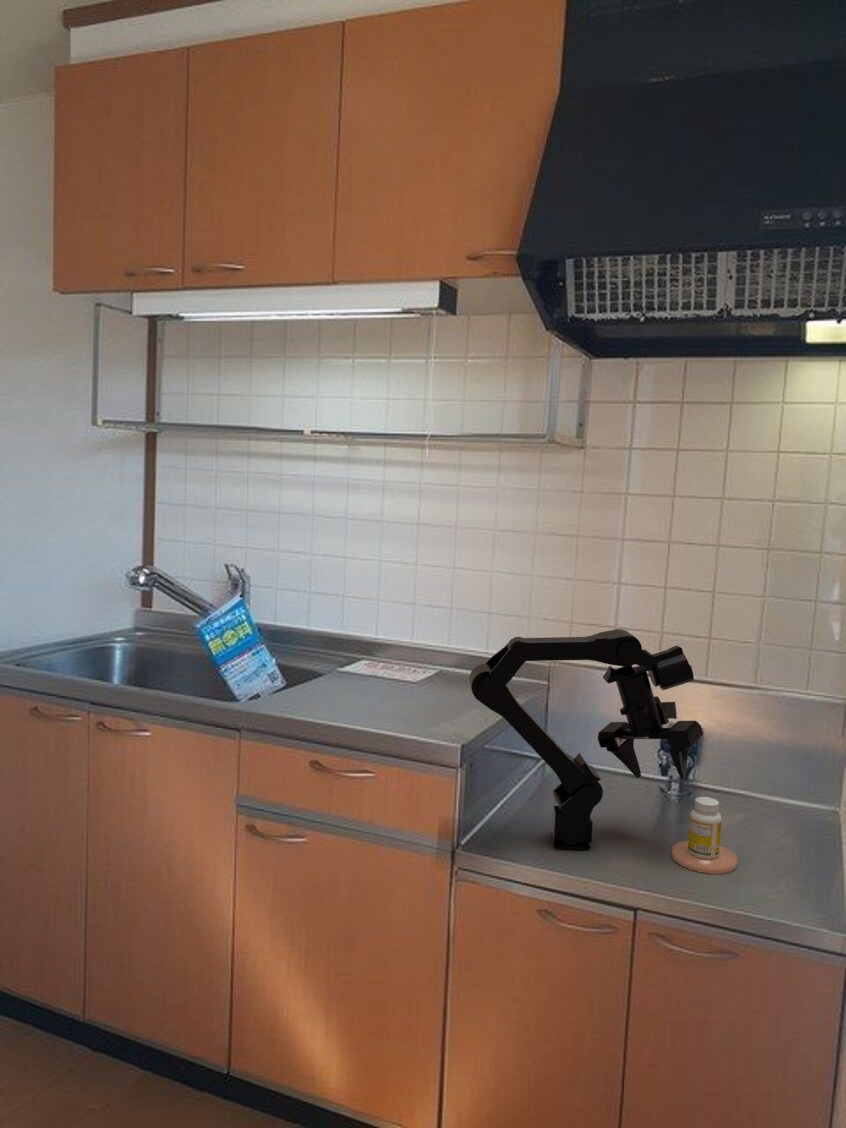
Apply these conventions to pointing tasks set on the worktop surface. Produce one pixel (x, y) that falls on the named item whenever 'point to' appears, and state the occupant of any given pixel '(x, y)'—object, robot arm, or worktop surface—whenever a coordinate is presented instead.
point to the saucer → (705, 860)
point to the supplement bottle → (705, 829)
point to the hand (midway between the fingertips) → (661, 777)
